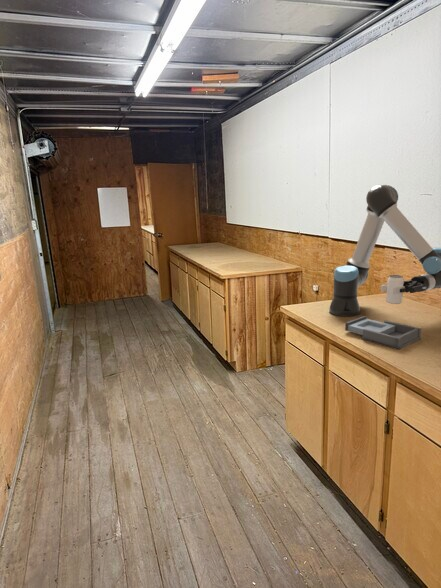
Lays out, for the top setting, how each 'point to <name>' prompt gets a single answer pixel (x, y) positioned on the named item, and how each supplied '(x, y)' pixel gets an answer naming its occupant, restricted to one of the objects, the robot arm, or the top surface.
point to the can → (394, 282)
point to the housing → (394, 336)
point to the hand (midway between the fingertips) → (387, 289)
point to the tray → (368, 326)
